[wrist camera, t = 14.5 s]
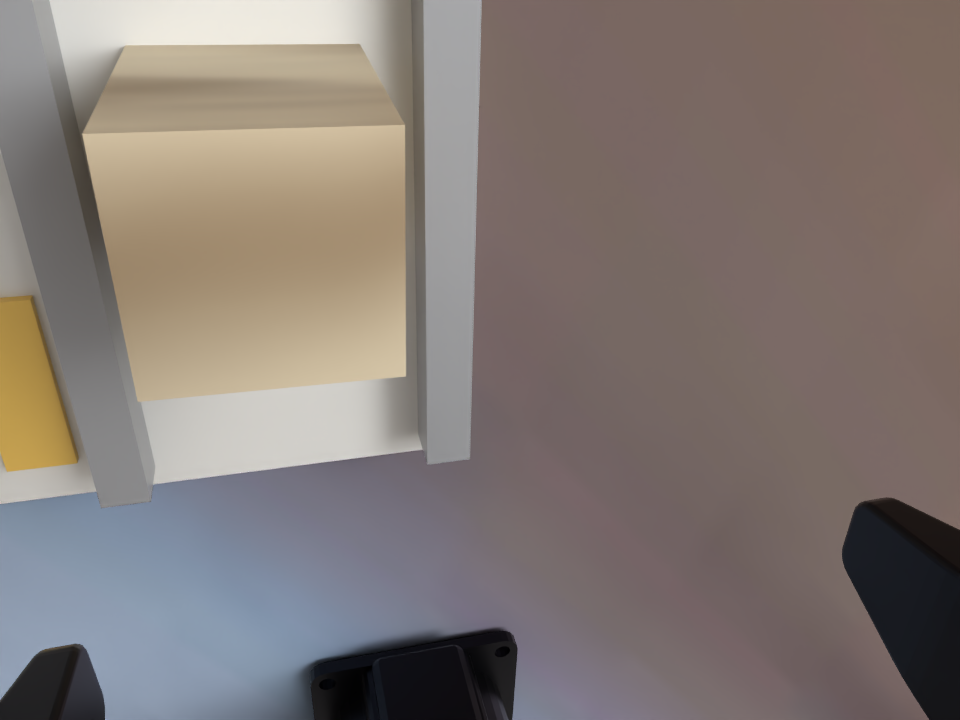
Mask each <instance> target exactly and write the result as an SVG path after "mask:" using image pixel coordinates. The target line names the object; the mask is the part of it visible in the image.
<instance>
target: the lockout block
mask: <svg viewBox="0 0 960 720" xmlns="http://www.w3.org/2000/svg"><path fill="white" fill-rule="evenodd" d="M82 136H83V140H84V145H85V150H86V155H87V160H88V165H89V169H90V174H91V179H92V184H93V189H94V193H95V198H96V203H97V208H98V213H99V218H100V222H101V227H102V232H103V237H104V242H105V247H106V251H107V256H108V261H109V266H110V271H111V276H112V280H113V285H114V290H115V295H116V300H117V304H118V309H119V314H120V319H121V324H122V329H123V333H124V338H125V343H126V348H127V353H128V358H129V362H130V367H131V372H132V377H133V382H134V387H135V391H136V396H137V401H138V402H143V401H153V400H164V399H174V398H185V397H195V396H206V395H216V394H227V393H237V392H248V391H258V390H269V389H279V388H290V387H300V386H311V385H321V384H332V383H342V382H353V381H363V380H374V379H384V378H395V377H405V376H406V245H405V124H404V122H403V120H402V119H401V117H400V115H399V113H398V111H397V110H396V108H395V106H394V104H393V102H392V101H391V99H390V97H389V95H388V94H387V92H386V90H385V88H384V86H383V85H382V83H381V81H380V79H379V77H378V76H377V74H376V72H375V70H374V69H373V67H372V65H371V63H370V61H369V60H368V58H367V56H366V54H365V52H364V51H363V49H362V47H361V45H360V44H265V45H125V47H124V49H123V51H122V53H121V55H120V57H119V59H118V62H117V64H116V66H115V68H114V70H113V72H112V74H111V76H110V78H109V80H108V82H107V84H106V86H105V88H104V90H103V92H102V94H101V96H100V98H99V100H98V102H97V105H96V107H95V109H94V111H93V113H92V115H91V117H90V119H89V121H88V123H87V125H86V127H85V129H84V131H83V133H82Z"/></svg>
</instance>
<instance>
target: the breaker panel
mask: <svg viewBox="0 0 960 720" xmlns="http://www.w3.org/2000/svg"><path fill="white" fill-rule="evenodd" d="M481 5H482V0H0V504H5V503H12V502H20V501H28V500H35V499H43V498H51V497H59V496H66V495H74V494H82V493H90V492H97V495H98V499H99V502H100V506H101V508H106V507H114V506H121V505H129V504H136V503H144V502H151V498H152V490H153V484H159V483H167V482H175V481H183V480H190V479H198V478H206V477H214V476H221V475H229V474H237V473H245V472H252V471H260V470H268V469H276V468H283V467H291V466H299V465H307V464H314V463H322V462H330V461H338V460H345V459H353V458H361V457H369V456H376V455H384V454H392V453H400V452H407V451H415V450H423V452H424V455H425V459H426V462H427V465H429V464H437V463H444V462H452V461H459V460H467V459H470V435H471V396H472V357H473V318H474V279H475V240H476V200H477V161H478V122H479V83H480V44H481ZM265 44H360V45H361V47H362V49H363V51H364V52H365V54H366V56H367V58H368V60H369V61H370V63H371V65H372V67H373V69H374V70H375V72H376V74H377V76H378V77H379V79H380V81H381V83H382V85H383V86H384V88H385V90H386V92H387V94H388V95H389V97H390V99H391V101H392V102H393V104H394V106H395V108H396V110H397V111H398V113H399V115H400V117H401V119H402V120H403V122H404V124H405V245H406V376H405V377H395V378H384V379H374V380H363V381H353V382H342V383H332V384H321V385H311V386H300V387H290V388H279V389H269V390H258V391H248V392H237V393H227V394H216V395H206V396H195V397H185V398H174V399H164V400H153V401H143V402H138V401H137V396H136V391H135V387H134V382H133V377H132V372H131V367H130V362H129V358H128V353H127V348H126V343H125V338H124V333H123V329H122V324H121V319H120V314H119V309H118V304H117V300H116V295H115V290H114V285H113V280H112V276H111V271H110V266H109V261H108V256H107V251H106V247H105V242H104V237H103V232H102V227H101V222H100V218H99V213H98V208H97V203H96V198H95V193H94V189H93V184H92V179H91V174H90V169H89V165H88V160H87V155H86V150H85V145H84V140H83V136H82V133H83V131H84V129H85V127H86V125H87V123H88V121H89V119H90V117H91V115H92V113H93V111H94V109H95V107H96V105H97V102H98V100H99V98H100V96H101V94H102V92H103V90H104V88H105V86H106V84H107V82H108V80H109V78H110V76H111V74H112V72H113V70H114V68H115V66H116V64H117V62H118V59H119V57H120V55H121V53H122V51H123V49H124V47H125V45H265Z"/></svg>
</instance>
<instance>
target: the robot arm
mask: <svg viewBox="0 0 960 720" xmlns="http://www.w3.org/2000/svg"><path fill="white" fill-rule="evenodd" d="M842 559H843V564H844V567H845V569H846V572H847V574H848V576H849V577H850V579H851V581H852V583H853V585H854V587H855V589H856V591H857V593H858V595H859V597H860V598H861V600H862V602H863V604H864V606H865V608H866V610H867V612H868V614H869V616H870V618H871V619H872V621H873V623H874V625H875V627H876V629H877V631H878V633H879V635H880V637H881V639H882V640H883V642H884V644H885V646H886V648H887V650H888V652H889V654H890V656H891V658H892V660H893V661H894V663H895V665H896V667H897V669H898V670H899V672H900V674H901V676H902V677H903V679H904V681H905V682H906V684H907V686H908V687H909V689H910V690H911V692H912V694H913V695H914V697H915V698H916V700H917V702H918V703H919V705H920V706H921V708H922V709H923V711H924V712H925V714H926V715H927V717H928V718H929V720H960V530H959V529H957V528H955V527H953V526H950V525H948V524H946V523H944V522H942V521H940V520H938V519H936V518H934V517H932V516H930V515H928V514H926V513H924V512H922V511H919V510H917V509H915V508H913V507H911V506H909V505H907V504H905V503H903V502H901V501H899V500H896V499H894V498H880V499H874V500H869V501H864V502H861V503H859V504H858V505H857V507H856V508H855V510H854V512H853V516H852V519H851V522H850V525H849V529H848V532H847V535H846V538H845V541H844V545H843V549H842ZM516 662H517V645H516V642H515V639H514V636H513V635H512V634H511V633H510V632H507V631H499V632H493V633H488V634H482V635H477V636H471V637H465V638H460V639H454V640H449V641H443V642H438V643H432V644H426V645H421V646H415V647H410V648H404V649H399V650H393V651H387V652H382V653H376V654H371V655H365V656H360V657H354V658H348V659H343V660H337V661H332V662H326V663H323V664H319V665H318V666H316V667H314V668H313V670H312V671H311V672H310V685H311V693H312V702H313V710H314V718H315V720H512V715H513V702H514V688H515V675H516ZM0 720H105V705H104V698H103V694H102V690H101V688H100V685H99V682H98V680H97V677H96V674H95V671H94V669H93V666H92V663H91V660H90V658H89V655H88V652H87V650H86V649H85V648H84V647H83V645H80V644H72V645H66V646H61V647H55V648H49V649H45V650H42V651H40V652H39V653H38V654H36V655H35V656H34V657H33V659H32V660H31V661H30V662H29V664H28V665H27V666H26V668H25V669H24V670H23V672H22V673H21V674H20V675H19V677H18V678H17V679H16V681H15V682H14V683H13V685H12V686H11V687H10V688H9V690H8V691H7V692H6V694H5V695H4V696H3V697H2V699H1V700H0Z"/></svg>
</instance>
